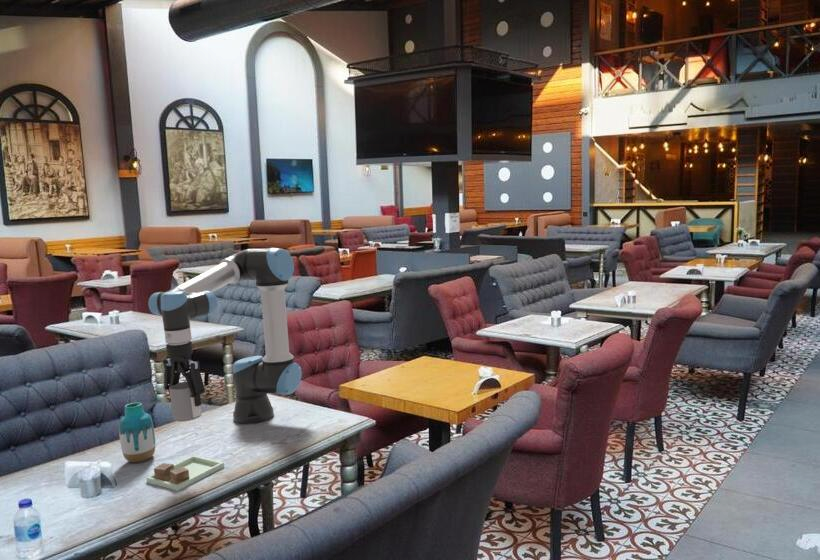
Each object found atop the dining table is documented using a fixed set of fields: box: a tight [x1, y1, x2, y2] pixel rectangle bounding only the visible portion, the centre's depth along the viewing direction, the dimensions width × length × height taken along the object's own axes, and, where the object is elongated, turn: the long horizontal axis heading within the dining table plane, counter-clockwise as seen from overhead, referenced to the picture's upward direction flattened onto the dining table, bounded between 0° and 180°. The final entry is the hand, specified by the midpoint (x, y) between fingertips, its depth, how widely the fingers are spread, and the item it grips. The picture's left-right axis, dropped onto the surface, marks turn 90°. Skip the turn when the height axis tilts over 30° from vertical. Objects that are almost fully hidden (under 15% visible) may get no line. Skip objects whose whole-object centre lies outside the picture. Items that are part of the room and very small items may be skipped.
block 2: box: [170, 466, 189, 485], centre depth 200 cm, size 4×4×4 cm
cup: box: [169, 381, 202, 422], centre depth 205 cm, size 8×8×10 cm
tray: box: [145, 454, 225, 492], centre depth 206 cm, size 18×14×2 cm
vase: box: [118, 401, 156, 463], centre depth 220 cm, size 11×11×19 cm
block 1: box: [153, 462, 174, 482], centre depth 203 cm, size 4×4×4 cm
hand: (187, 414), depth 206 cm, fingers closed on cup, 8 cm apart
